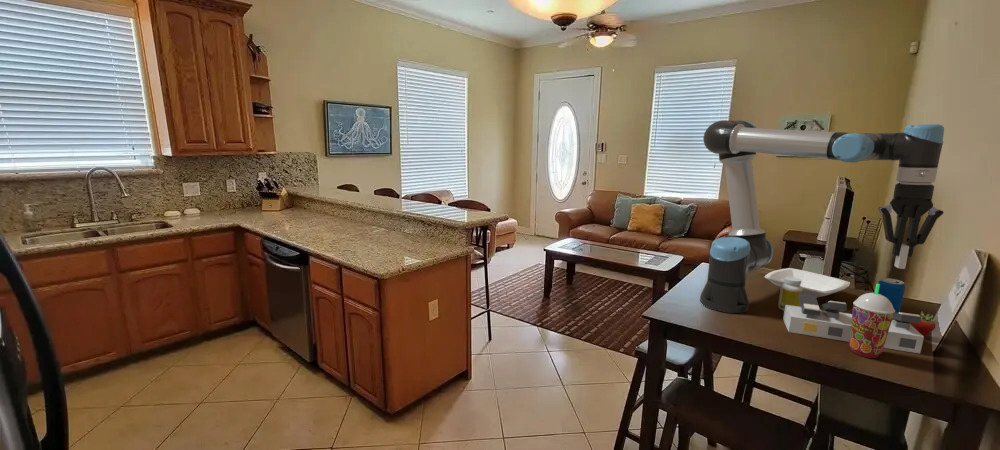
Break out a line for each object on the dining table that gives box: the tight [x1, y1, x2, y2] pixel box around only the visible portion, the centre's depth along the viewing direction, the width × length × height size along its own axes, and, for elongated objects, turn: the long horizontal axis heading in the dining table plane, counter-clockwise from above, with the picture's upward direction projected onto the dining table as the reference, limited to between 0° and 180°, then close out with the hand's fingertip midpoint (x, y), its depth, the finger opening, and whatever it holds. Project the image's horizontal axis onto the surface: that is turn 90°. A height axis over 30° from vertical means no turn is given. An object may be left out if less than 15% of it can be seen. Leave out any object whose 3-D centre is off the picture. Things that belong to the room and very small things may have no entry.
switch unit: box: [782, 305, 925, 354], centre depth 123 cm, size 30×10×7 cm, turn 64°
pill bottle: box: [777, 277, 803, 312], centre depth 141 cm, size 6×6×11 cm
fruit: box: [909, 310, 937, 339], centre depth 121 cm, size 5×5×8 cm
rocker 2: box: [820, 300, 848, 313], centre depth 124 cm, size 4×8×2 cm, turn 154°
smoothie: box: [848, 283, 895, 359], centre depth 111 cm, size 8×8×20 cm
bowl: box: [764, 267, 851, 299], centre depth 156 cm, size 22×23×6 cm
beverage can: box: [877, 277, 906, 313], centre depth 136 cm, size 6×6×12 cm
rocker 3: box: [892, 311, 921, 323], centre depth 117 cm, size 4×8×2 cm, turn 154°
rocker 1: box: [798, 293, 821, 316], centre depth 126 cm, size 4×8×2 cm, turn 154°
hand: (899, 267), depth 116 cm, fingers closed
